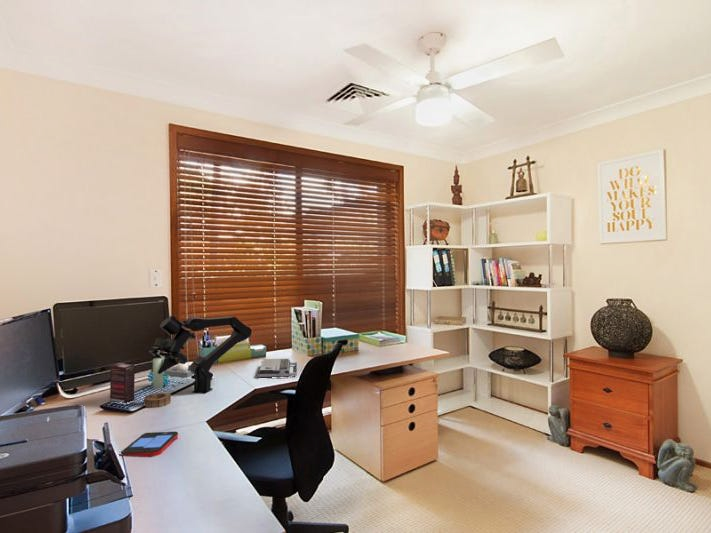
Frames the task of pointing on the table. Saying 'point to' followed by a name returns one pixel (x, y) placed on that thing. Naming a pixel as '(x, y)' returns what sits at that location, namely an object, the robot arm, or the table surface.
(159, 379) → the dowel
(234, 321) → the robot arm
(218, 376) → the table surface
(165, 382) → the blue virus toy
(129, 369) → the supplement box
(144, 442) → the red dual-screen device
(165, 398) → the brown segmented ring
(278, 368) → the radio
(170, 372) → the mouse tray
